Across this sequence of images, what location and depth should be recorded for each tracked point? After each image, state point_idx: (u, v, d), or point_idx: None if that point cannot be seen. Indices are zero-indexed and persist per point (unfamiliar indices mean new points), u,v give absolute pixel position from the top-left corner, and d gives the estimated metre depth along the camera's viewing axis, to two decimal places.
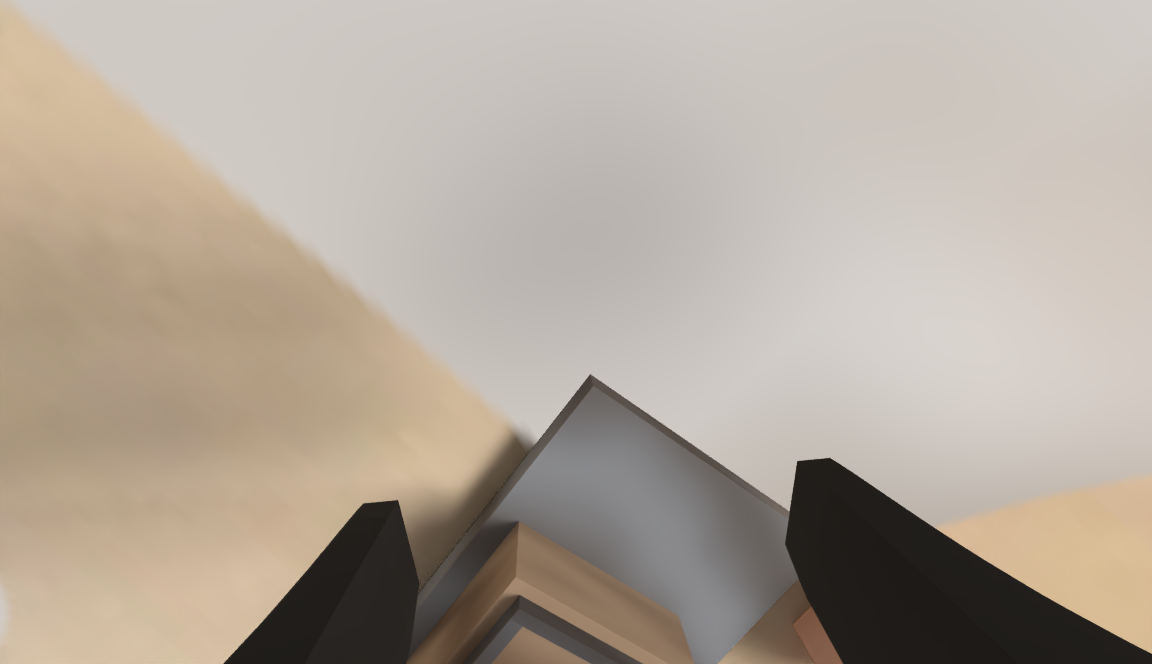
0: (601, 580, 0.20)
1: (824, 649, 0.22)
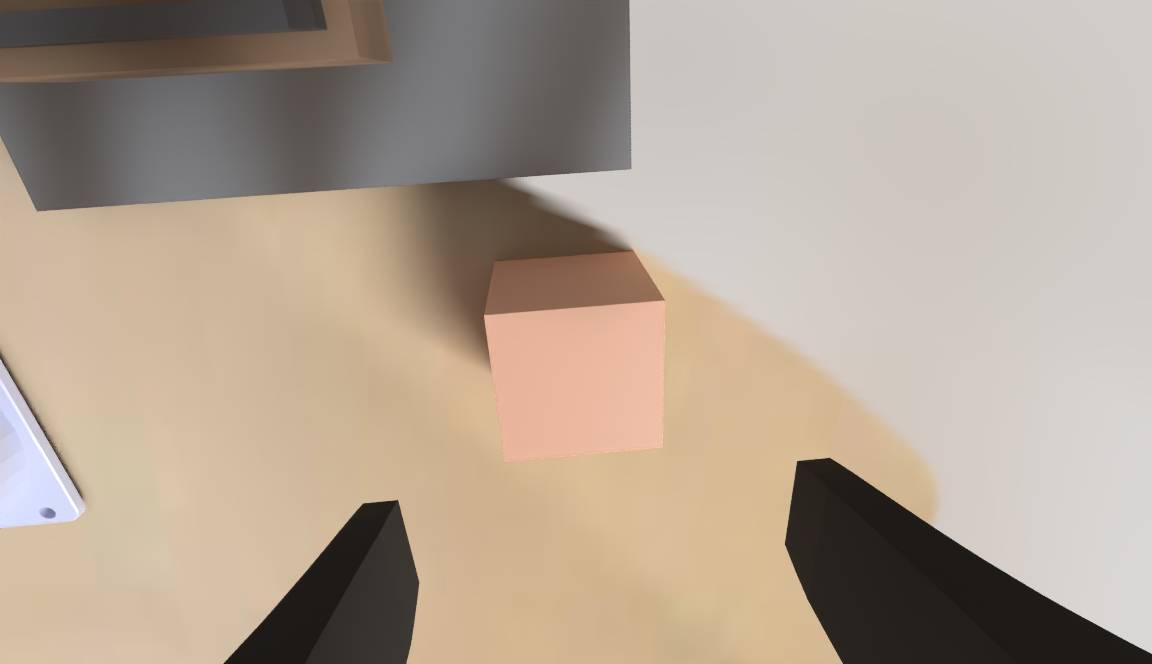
0: None
1: (514, 279, 0.15)
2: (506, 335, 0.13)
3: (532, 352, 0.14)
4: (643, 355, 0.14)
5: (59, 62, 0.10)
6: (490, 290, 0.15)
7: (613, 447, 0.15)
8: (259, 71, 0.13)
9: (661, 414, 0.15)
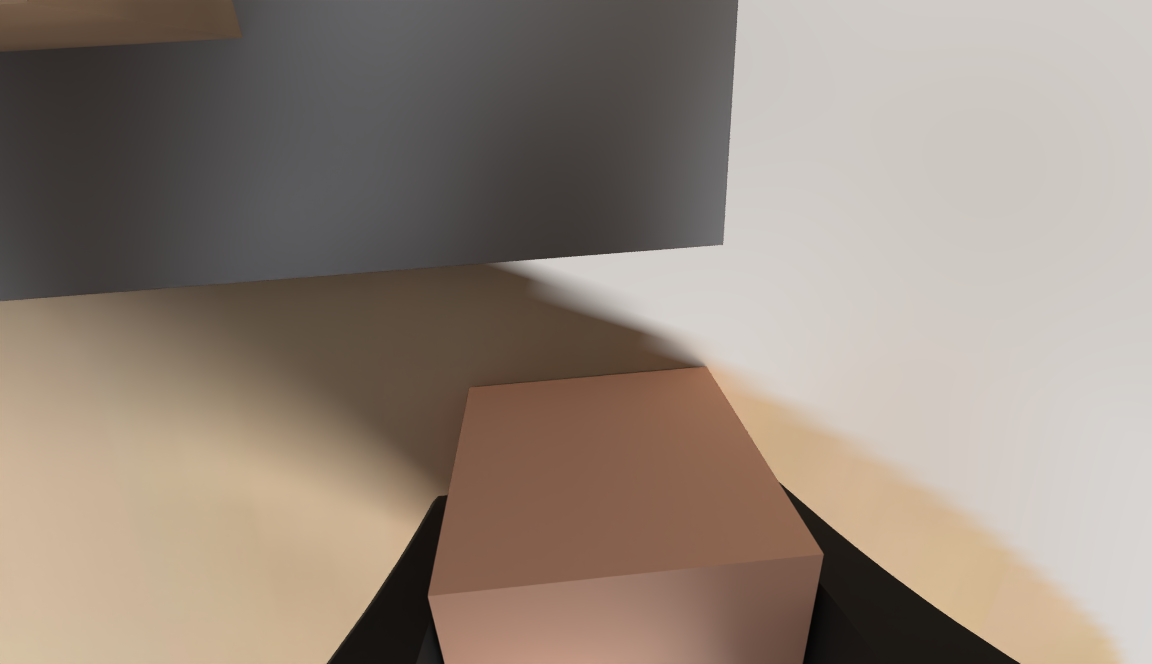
0: None
1: (501, 448, 0.08)
2: (480, 626, 0.06)
3: (535, 650, 0.06)
4: (766, 644, 0.07)
5: None
6: (453, 488, 0.07)
7: None
8: None
9: None
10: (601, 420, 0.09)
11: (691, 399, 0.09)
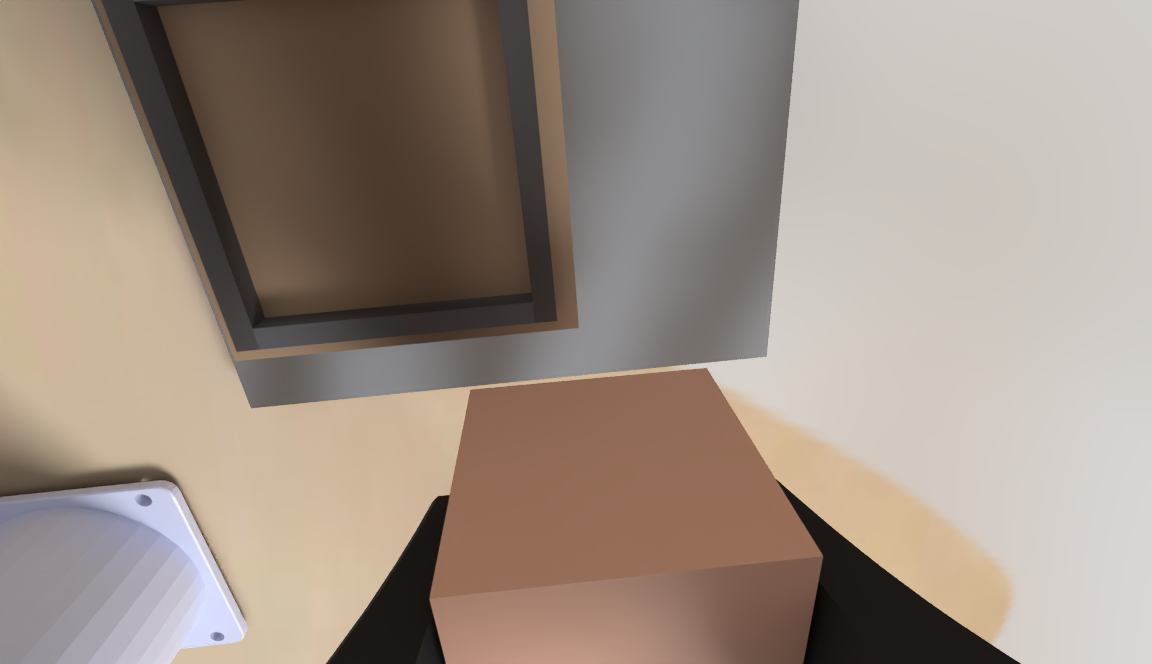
0: None
1: (502, 451, 0.08)
2: (481, 629, 0.06)
3: (536, 653, 0.06)
4: (766, 646, 0.07)
5: (333, 343, 0.12)
6: (454, 490, 0.08)
7: None
8: None
9: None
10: (601, 422, 0.09)
11: (691, 401, 0.09)
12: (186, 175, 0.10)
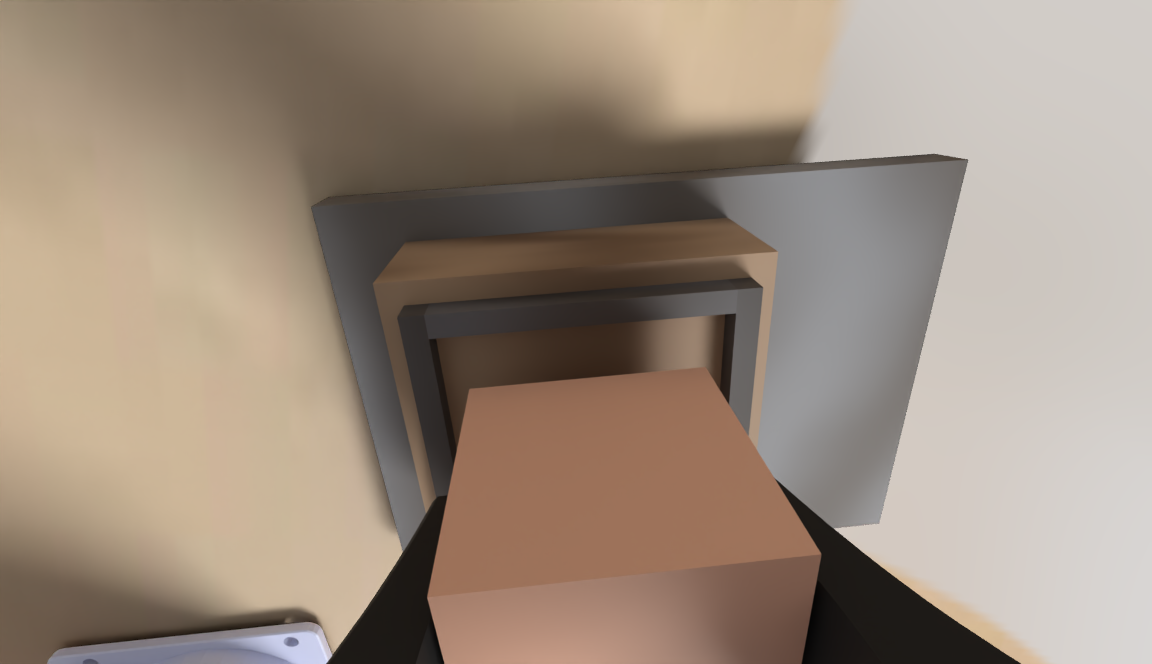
0: None
1: (500, 449, 0.08)
2: (478, 627, 0.06)
3: (534, 652, 0.06)
4: (765, 643, 0.07)
5: None
6: (452, 489, 0.08)
7: None
8: None
9: None
10: (600, 421, 0.09)
11: (690, 400, 0.09)
12: (442, 457, 0.11)
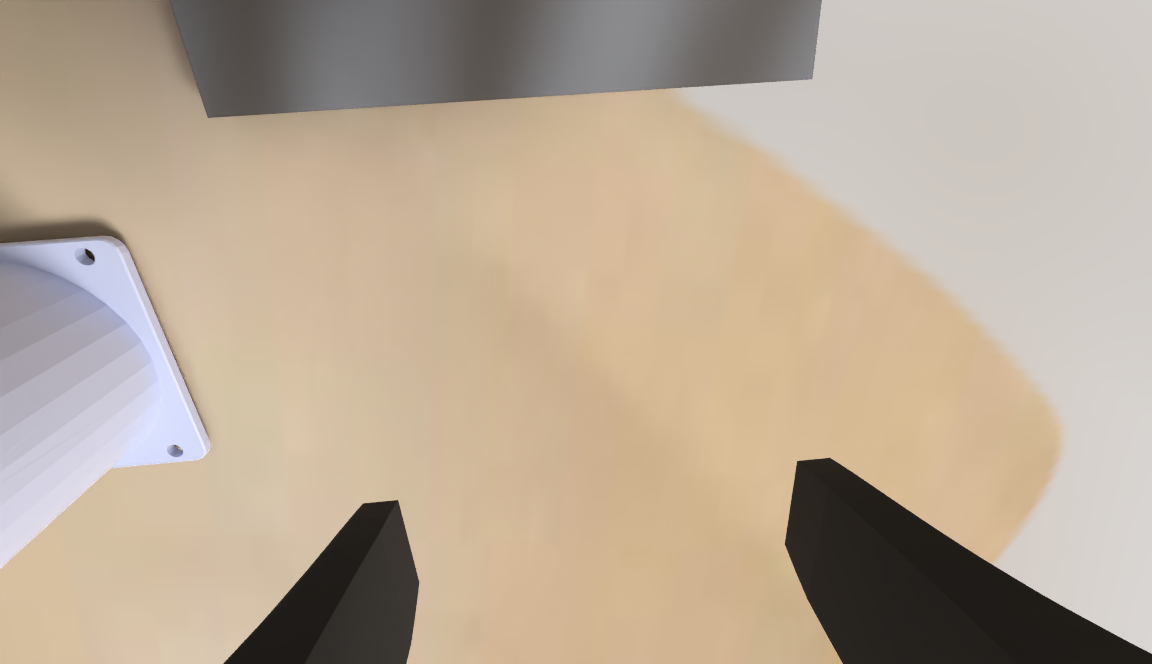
0: None
1: None
2: None
3: None
4: None
5: None
6: None
7: None
8: None
9: None
10: None
11: None
12: None
